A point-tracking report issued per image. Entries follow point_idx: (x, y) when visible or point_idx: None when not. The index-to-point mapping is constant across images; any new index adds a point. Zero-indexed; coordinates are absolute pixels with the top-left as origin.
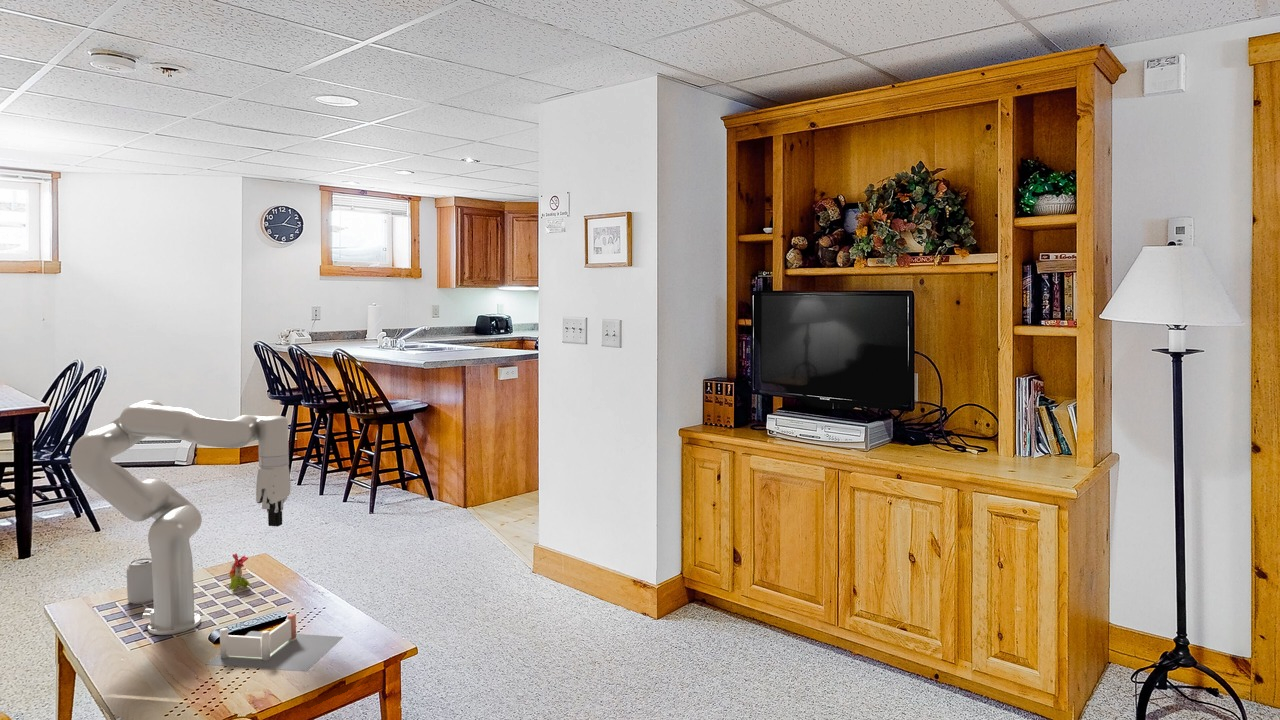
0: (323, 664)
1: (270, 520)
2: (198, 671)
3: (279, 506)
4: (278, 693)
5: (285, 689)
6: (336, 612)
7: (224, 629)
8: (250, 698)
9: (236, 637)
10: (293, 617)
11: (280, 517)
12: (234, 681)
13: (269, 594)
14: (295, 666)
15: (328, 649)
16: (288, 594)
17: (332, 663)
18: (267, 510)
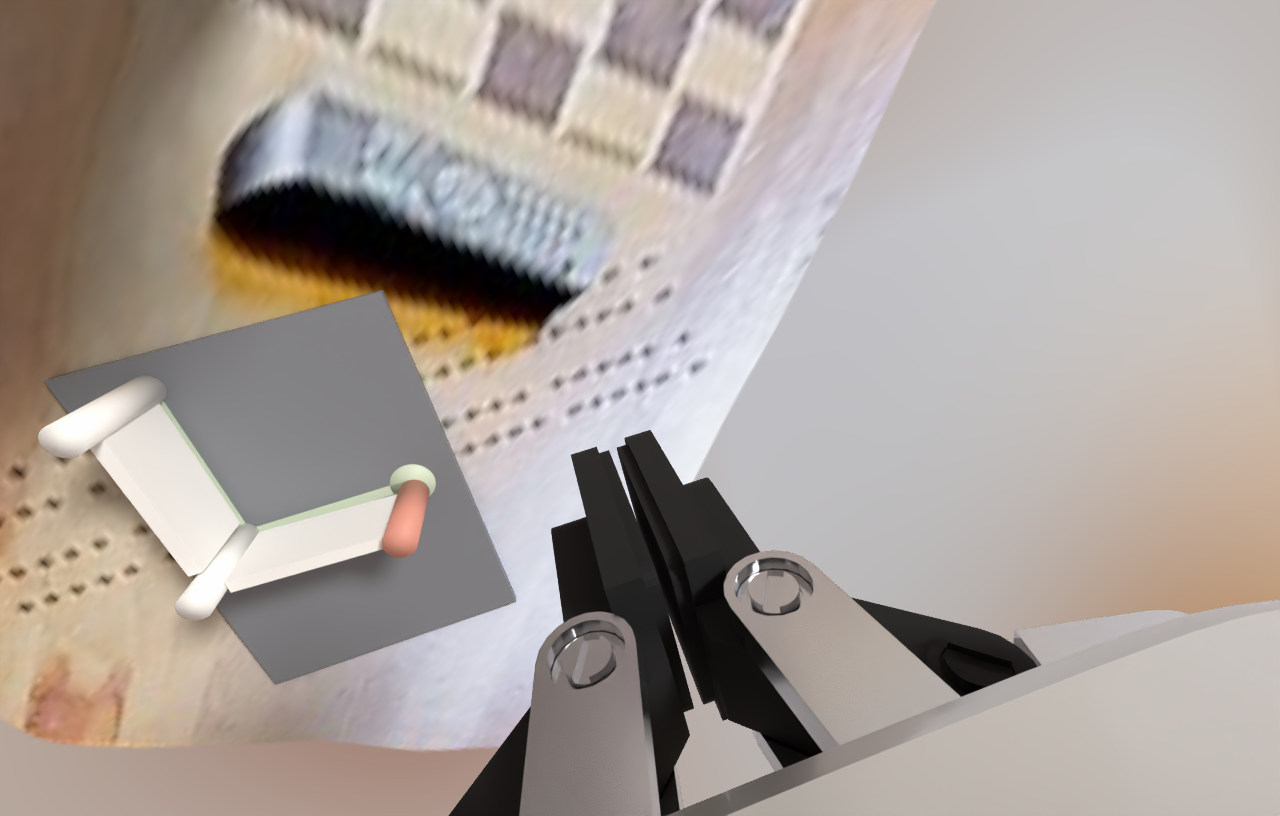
0: (353, 669)
1: (556, 565)
2: (4, 385)
3: (777, 768)
4: (136, 707)
5: (168, 704)
6: (676, 435)
7: (66, 442)
8: (49, 676)
9: (121, 487)
10: (397, 555)
11: (678, 635)
12: (74, 557)
13: (746, 11)
14: (275, 641)
15: (423, 629)
16: (769, 112)
17: (373, 682)
18: (538, 694)
